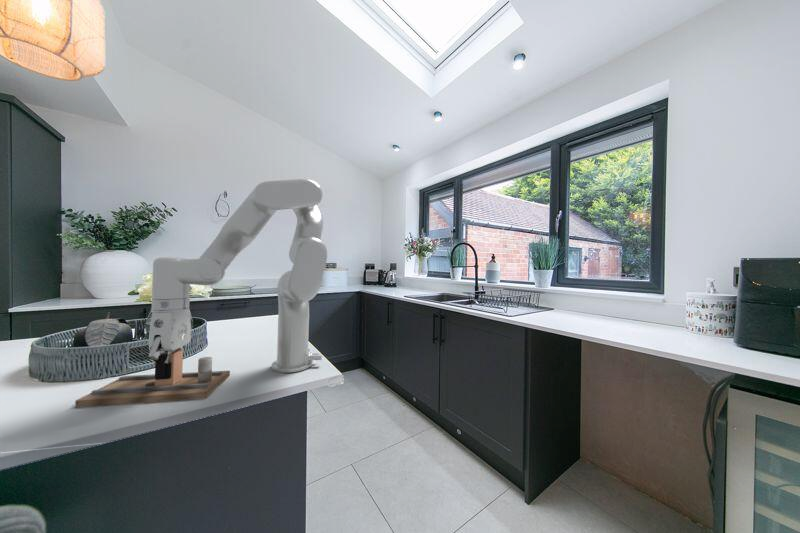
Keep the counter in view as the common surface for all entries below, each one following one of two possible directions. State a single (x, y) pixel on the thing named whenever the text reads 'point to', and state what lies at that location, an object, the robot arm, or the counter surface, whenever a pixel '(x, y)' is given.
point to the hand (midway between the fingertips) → (168, 374)
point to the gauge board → (157, 388)
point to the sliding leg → (173, 369)
